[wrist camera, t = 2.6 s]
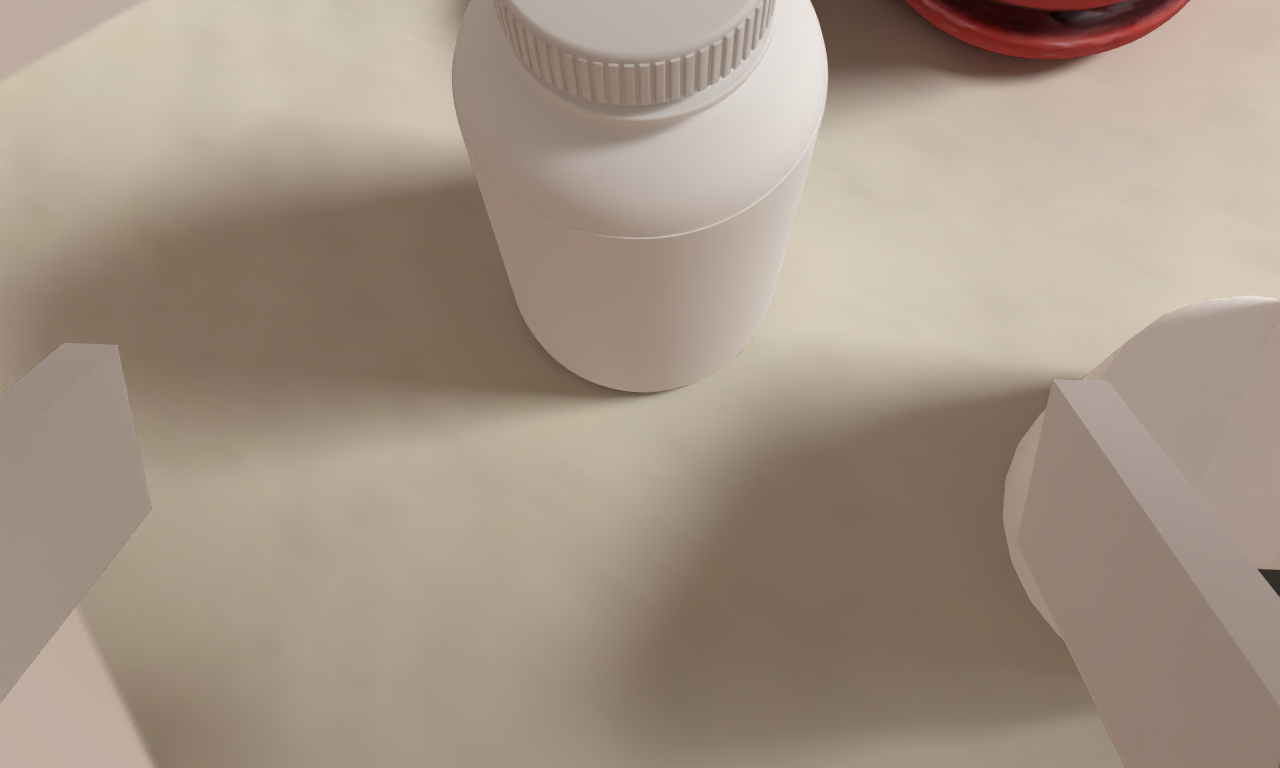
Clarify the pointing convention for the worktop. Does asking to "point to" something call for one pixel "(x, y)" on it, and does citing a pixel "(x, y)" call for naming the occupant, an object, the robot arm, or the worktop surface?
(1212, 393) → the cylinder with rectangular tab
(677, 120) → the pill bottle
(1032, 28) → the plant pot
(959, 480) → the worktop surface
